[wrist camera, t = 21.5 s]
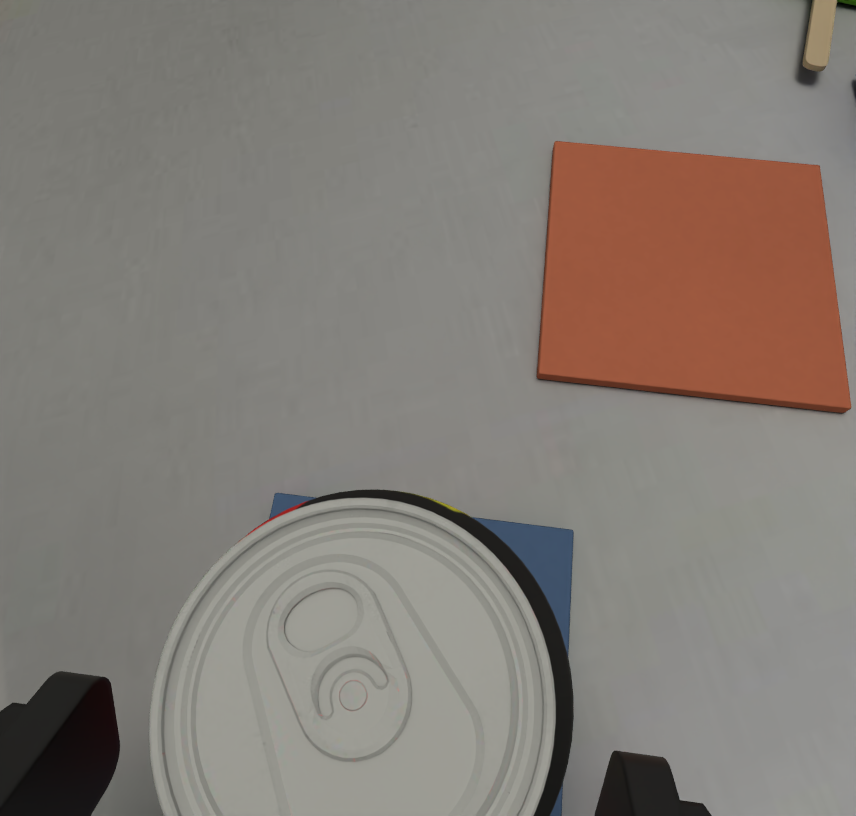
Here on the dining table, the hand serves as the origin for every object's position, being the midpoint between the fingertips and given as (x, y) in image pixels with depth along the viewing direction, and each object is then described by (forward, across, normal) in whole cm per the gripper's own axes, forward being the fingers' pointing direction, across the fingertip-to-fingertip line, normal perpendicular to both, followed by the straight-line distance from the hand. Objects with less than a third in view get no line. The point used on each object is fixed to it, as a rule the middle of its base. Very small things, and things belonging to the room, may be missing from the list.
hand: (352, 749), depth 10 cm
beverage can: (+7, 0, +6) cm, 10 cm away
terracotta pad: (+19, -9, -5) cm, 22 cm away
